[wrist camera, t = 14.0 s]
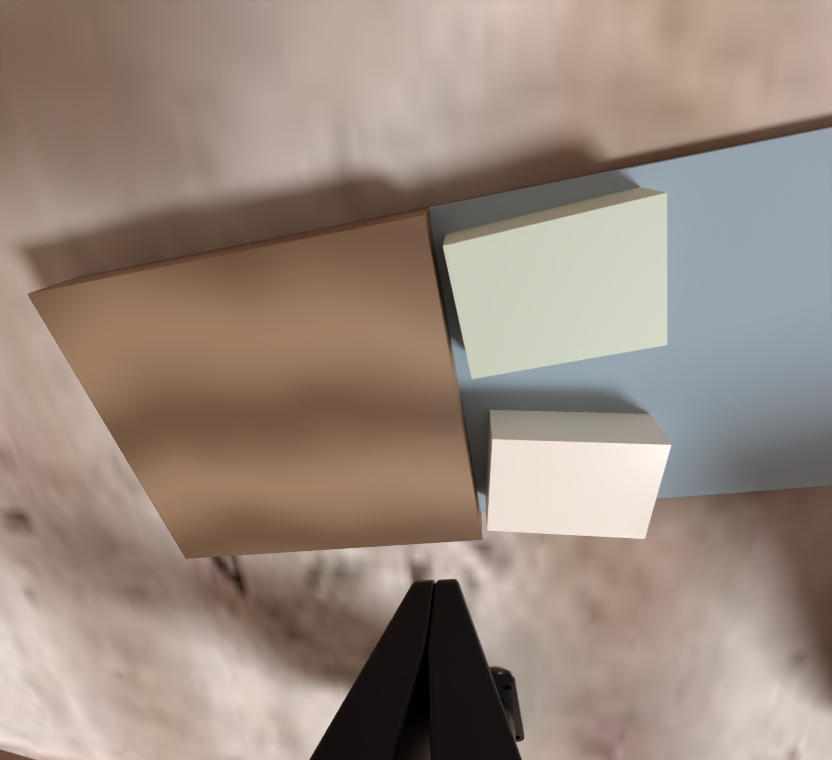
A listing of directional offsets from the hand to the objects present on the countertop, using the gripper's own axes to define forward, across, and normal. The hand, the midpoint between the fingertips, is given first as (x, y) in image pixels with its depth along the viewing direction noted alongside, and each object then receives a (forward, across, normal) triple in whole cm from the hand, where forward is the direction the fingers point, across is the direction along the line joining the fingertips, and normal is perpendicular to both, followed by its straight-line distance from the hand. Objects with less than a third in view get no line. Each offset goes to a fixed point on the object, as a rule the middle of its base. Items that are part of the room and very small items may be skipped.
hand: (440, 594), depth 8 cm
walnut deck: (+10, +7, +1) cm, 12 cm away
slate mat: (+10, -7, 0) cm, 12 cm away
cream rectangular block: (+10, -4, +4) cm, 11 cm away
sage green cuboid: (+10, -4, -3) cm, 11 cm away
